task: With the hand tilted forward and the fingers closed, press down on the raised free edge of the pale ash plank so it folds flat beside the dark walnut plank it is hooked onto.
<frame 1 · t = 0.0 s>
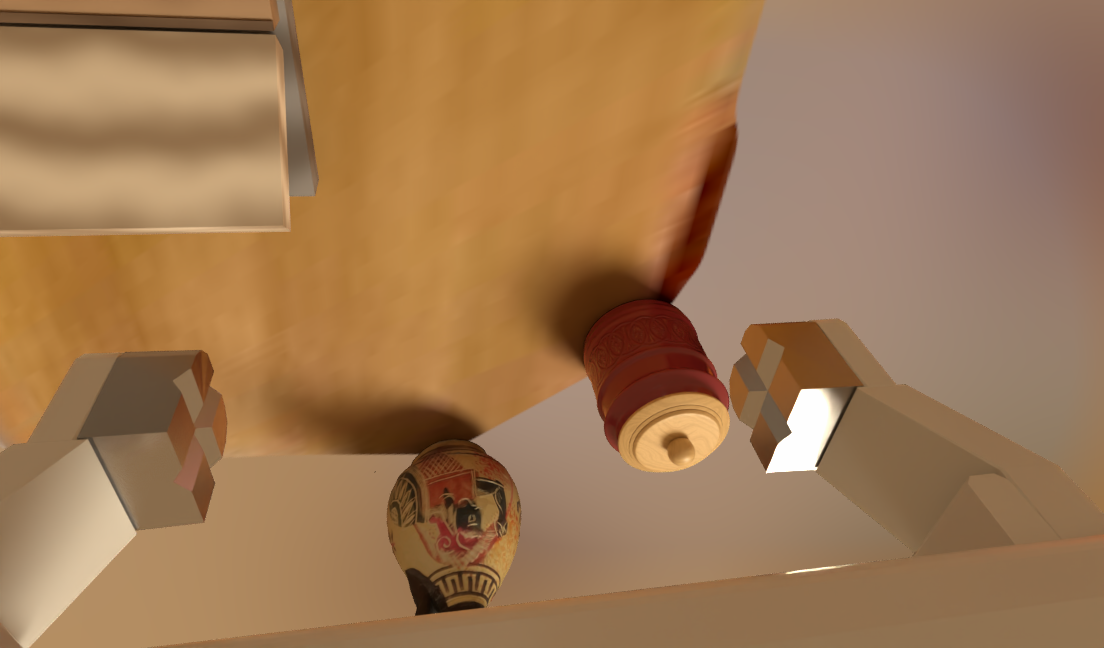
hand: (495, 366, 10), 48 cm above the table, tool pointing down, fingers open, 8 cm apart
tan slab: (154, 37, 49), on the table
canister: (636, 340, 77), on the table
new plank: (133, 134, 45), point 9 cm above the table, hinge at 40.0°
ceramic jug: (445, 459, 84), on the table
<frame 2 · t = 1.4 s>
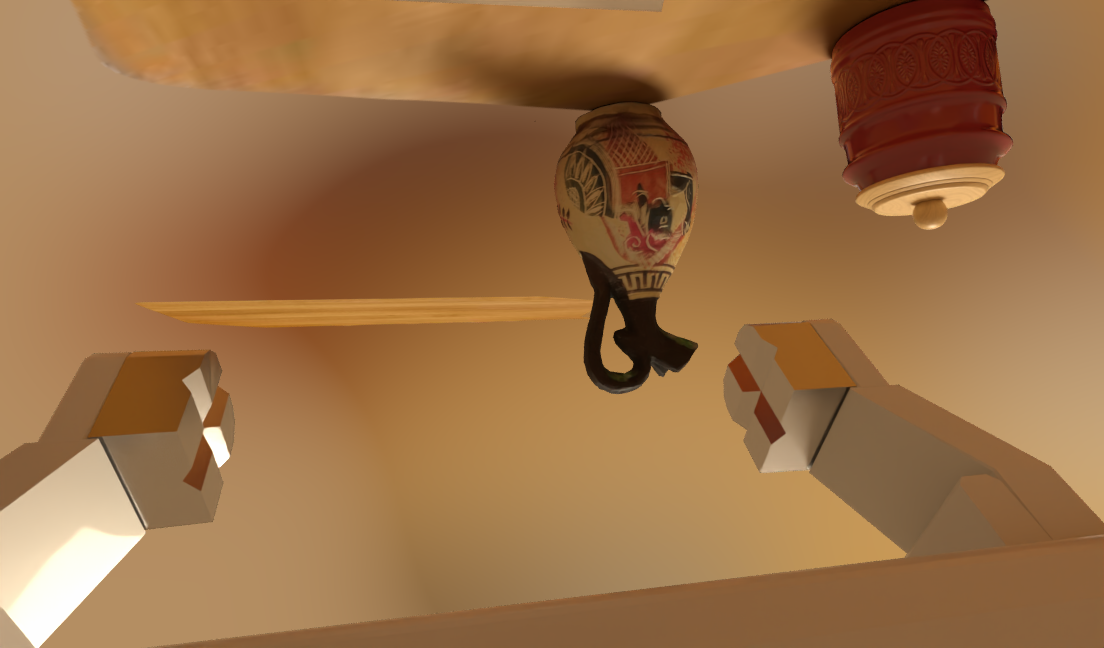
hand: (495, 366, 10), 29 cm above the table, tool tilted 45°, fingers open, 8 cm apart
canister: (906, 32, 60), on the table
ceramic jug: (613, 115, 73), on the table
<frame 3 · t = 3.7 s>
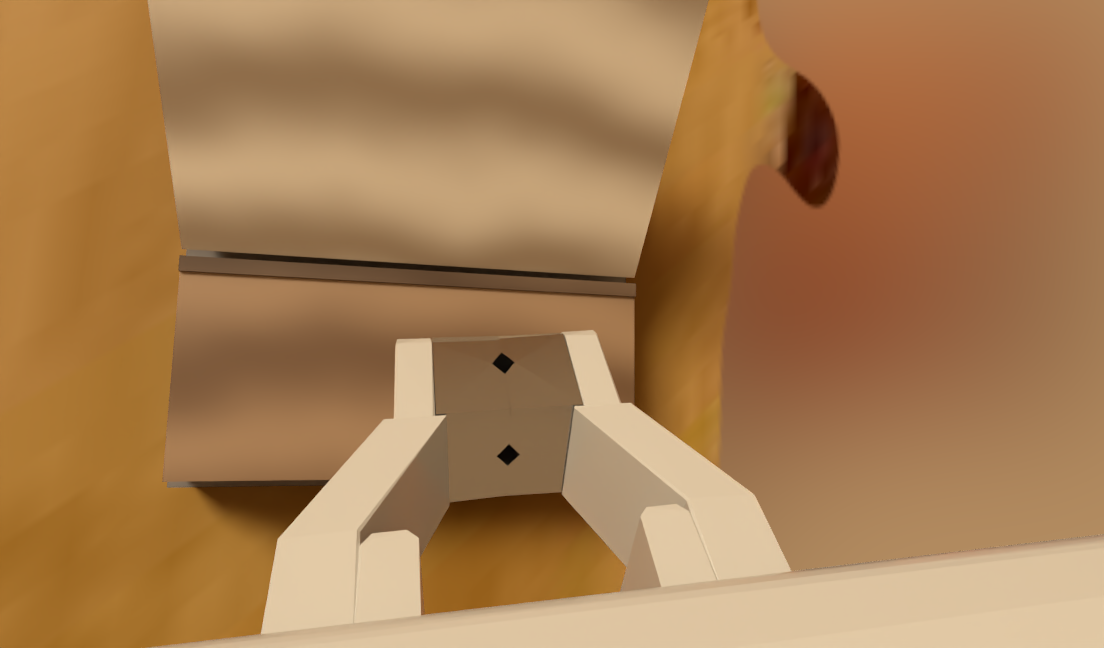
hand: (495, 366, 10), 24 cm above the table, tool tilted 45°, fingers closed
tan slab: (420, 247, 34), on the table
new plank: (436, 103, 26), point 9 cm above the table, hinge at 40.0°
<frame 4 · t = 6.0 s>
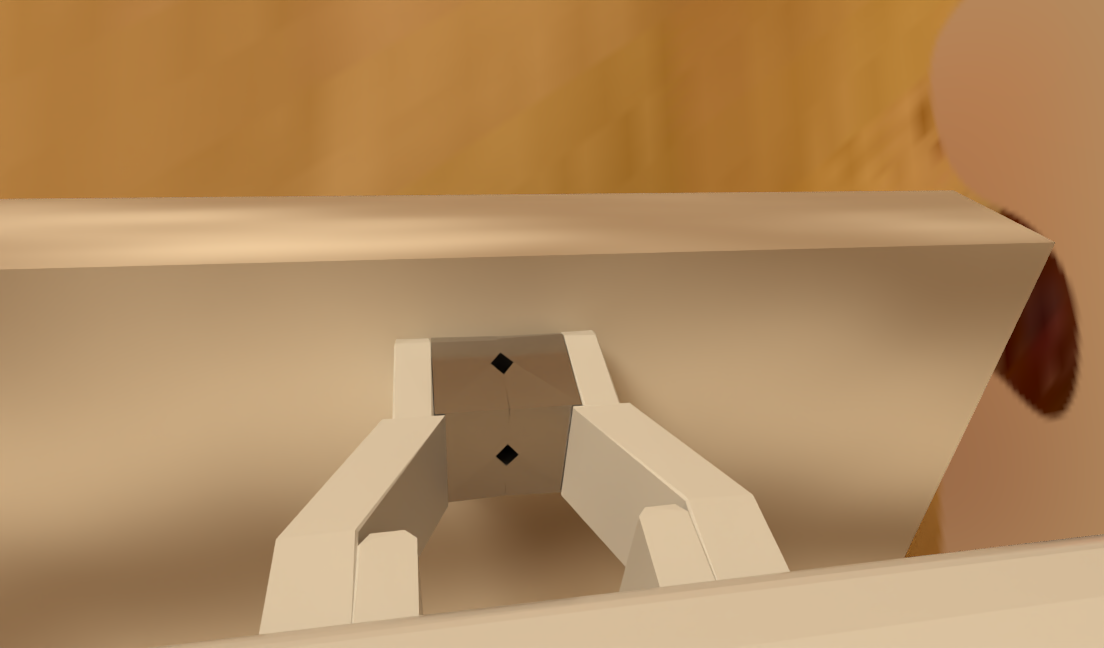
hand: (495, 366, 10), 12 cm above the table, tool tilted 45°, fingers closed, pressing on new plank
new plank: (479, 516, 14), point 8 cm above the table, hinge at 37.7°, touching gripper
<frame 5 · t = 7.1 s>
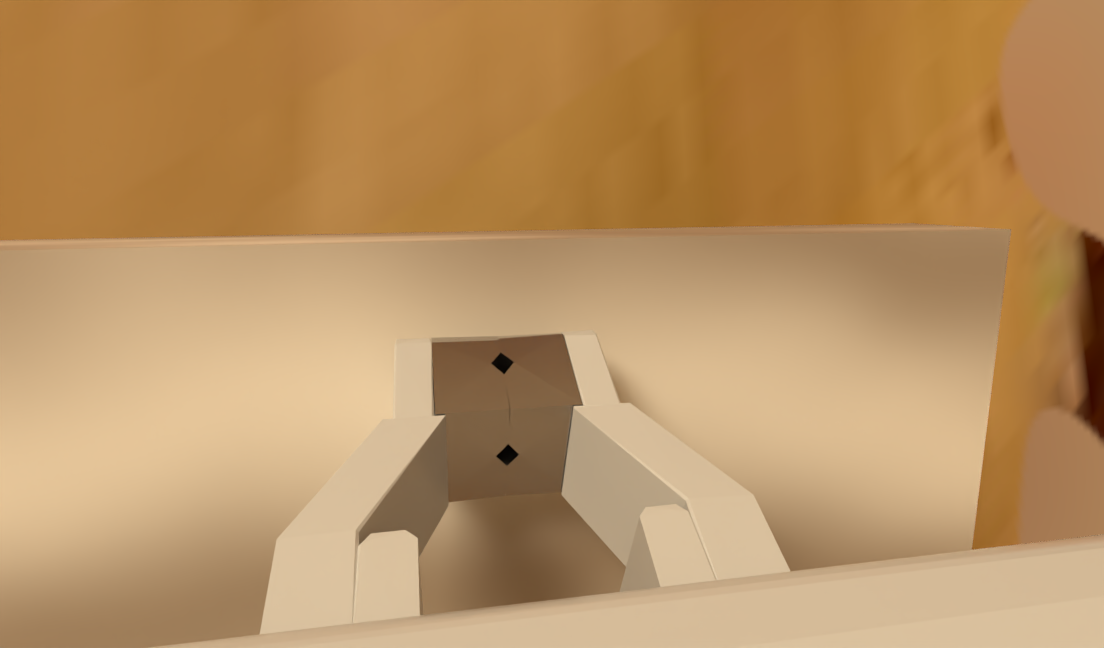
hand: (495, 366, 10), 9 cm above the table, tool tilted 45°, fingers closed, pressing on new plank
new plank: (485, 578, 13), point 6 cm above the table, hinge at 17.9°, touching gripper
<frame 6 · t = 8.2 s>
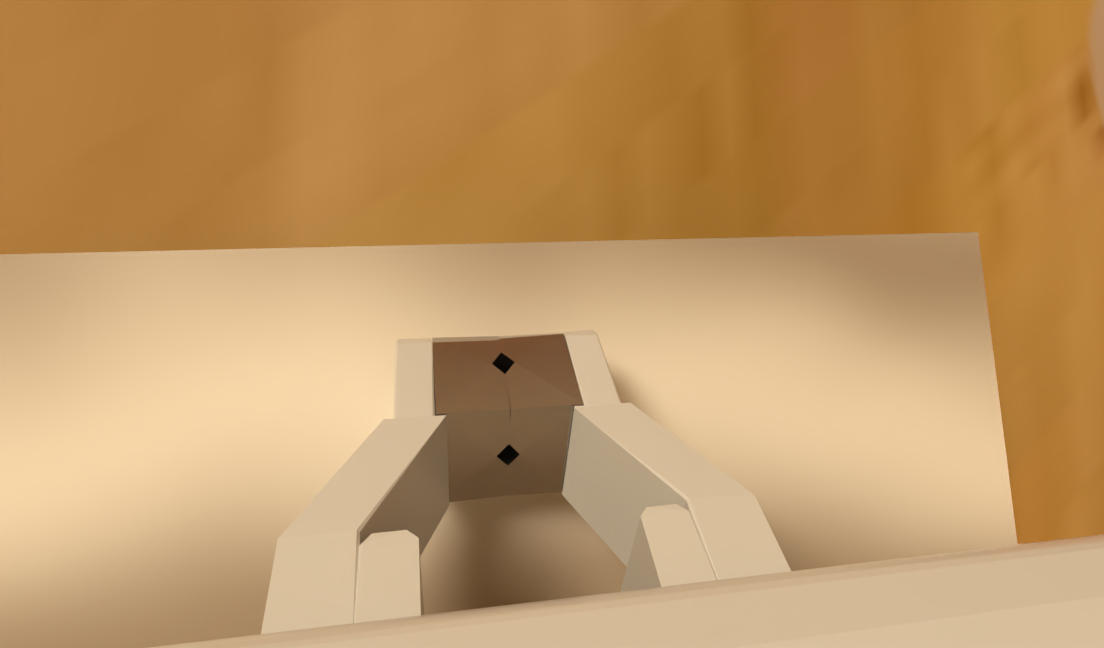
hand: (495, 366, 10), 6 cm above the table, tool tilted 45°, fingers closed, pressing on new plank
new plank: (493, 626, 12), point 4 cm above the table, hinge at 0.3°, touching gripper
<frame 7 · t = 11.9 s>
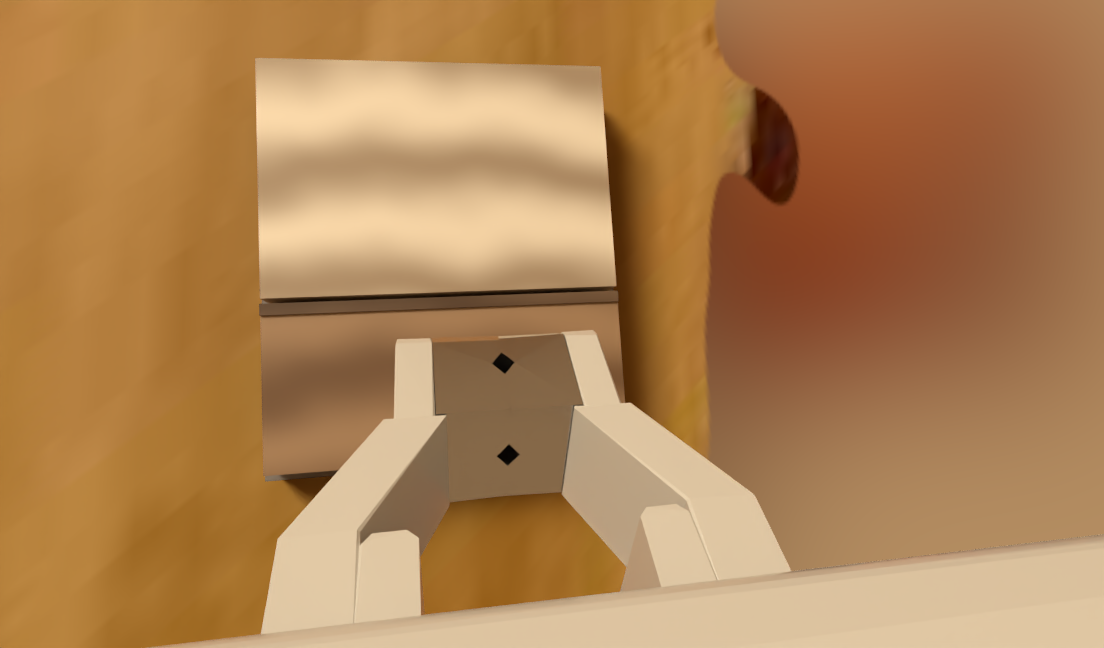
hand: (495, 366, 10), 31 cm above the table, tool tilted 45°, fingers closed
tan slab: (443, 274, 42), on the table
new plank: (440, 182, 38), point 4 cm above the table, hinge at 0.3°
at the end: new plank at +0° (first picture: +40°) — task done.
